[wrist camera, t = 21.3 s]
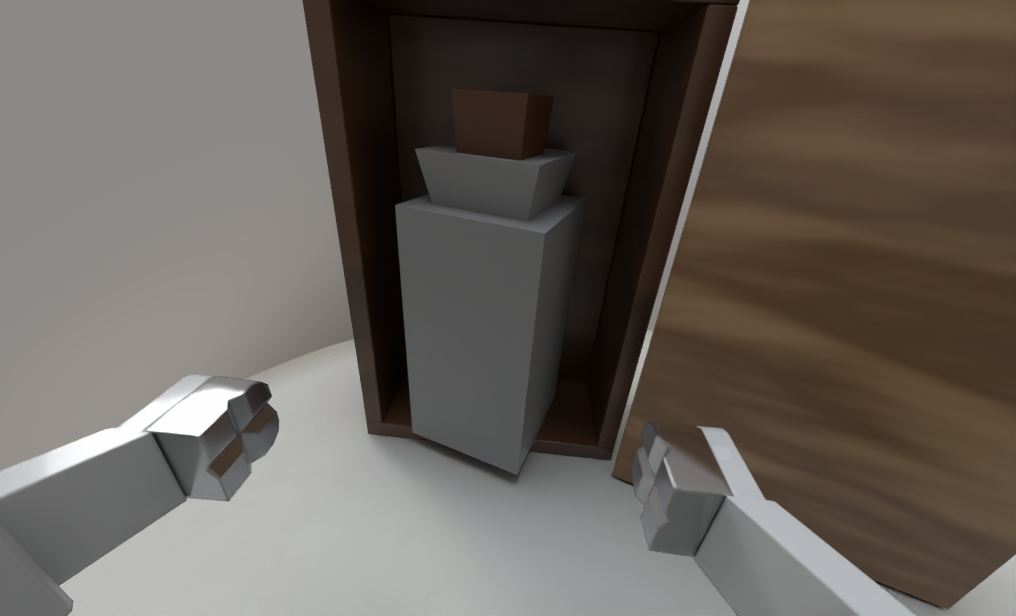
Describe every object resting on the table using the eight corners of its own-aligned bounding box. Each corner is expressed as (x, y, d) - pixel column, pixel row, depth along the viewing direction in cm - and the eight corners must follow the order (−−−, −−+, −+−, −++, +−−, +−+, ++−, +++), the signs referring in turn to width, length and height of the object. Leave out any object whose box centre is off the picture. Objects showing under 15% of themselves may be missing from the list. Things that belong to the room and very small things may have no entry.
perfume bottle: (517, 475, 21) (560, 95, 12) (412, 432, 23) (385, 83, 14) (554, 398, 26) (601, 99, 18) (466, 369, 28) (471, 90, 20)
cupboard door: (628, 409, 27) (745, 5, 16) (893, 498, 22) (1321, -1, 11) (611, 475, 22) (762, -41, 11) (948, 610, 17) (1813, -90, 6)
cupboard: (610, 460, 23) (750, -35, 12) (367, 433, 24) (291, -62, 13) (596, 385, 29) (681, 10, 18) (403, 365, 30) (373, -10, 19)
